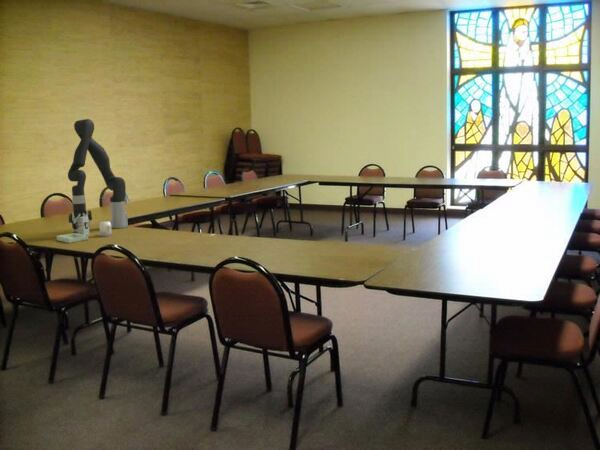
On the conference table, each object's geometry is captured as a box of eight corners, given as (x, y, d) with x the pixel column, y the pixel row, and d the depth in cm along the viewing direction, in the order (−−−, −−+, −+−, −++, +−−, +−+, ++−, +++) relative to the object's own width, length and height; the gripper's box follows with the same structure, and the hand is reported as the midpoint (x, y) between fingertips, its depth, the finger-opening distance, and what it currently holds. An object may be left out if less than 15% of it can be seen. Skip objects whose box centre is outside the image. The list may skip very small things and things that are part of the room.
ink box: (73, 235, 402) (72, 216, 400) (79, 234, 406) (78, 215, 404) (84, 236, 398) (82, 217, 396) (89, 234, 402) (88, 216, 400)
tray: (75, 237, 396) (74, 233, 395) (88, 240, 385) (87, 235, 385) (56, 240, 387) (56, 235, 387) (69, 243, 377) (69, 238, 376)
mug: (108, 233, 405) (107, 221, 403) (116, 235, 398) (115, 222, 397) (97, 235, 400) (96, 222, 398) (105, 237, 393) (104, 224, 392)
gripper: (86, 200, 406) (88, 226, 409) (65, 203, 396) (67, 229, 399) (92, 201, 401) (94, 227, 404) (71, 204, 391) (73, 230, 394)
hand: (81, 228), depth 401 cm, fingers open, 8 cm apart
